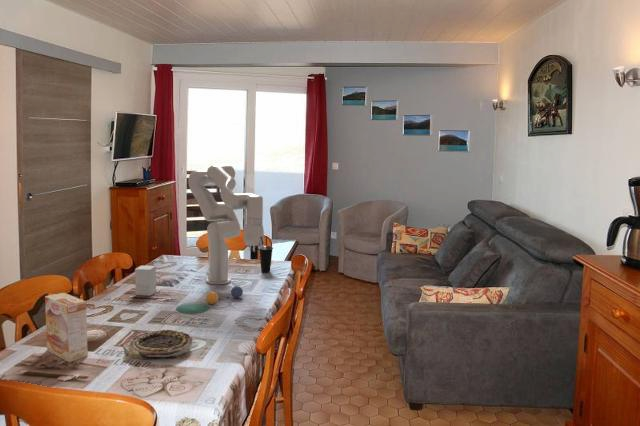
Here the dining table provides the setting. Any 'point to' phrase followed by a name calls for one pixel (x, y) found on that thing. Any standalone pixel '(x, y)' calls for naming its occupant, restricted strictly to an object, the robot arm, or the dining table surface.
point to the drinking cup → (265, 257)
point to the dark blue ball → (236, 292)
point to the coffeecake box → (66, 326)
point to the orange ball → (212, 297)
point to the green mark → (192, 308)
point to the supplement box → (145, 280)
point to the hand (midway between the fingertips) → (254, 259)
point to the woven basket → (158, 345)
